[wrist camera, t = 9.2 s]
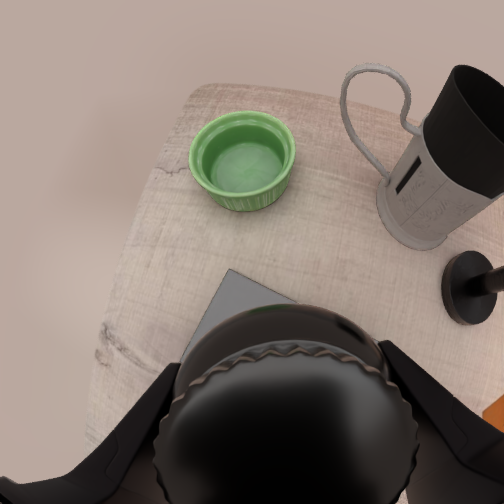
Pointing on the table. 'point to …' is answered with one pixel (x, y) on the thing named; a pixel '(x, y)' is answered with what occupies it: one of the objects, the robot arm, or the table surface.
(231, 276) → the slate tile
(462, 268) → the desk lamp
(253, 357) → the supplement bottle
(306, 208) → the table surface
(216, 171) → the ramekin
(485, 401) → the table surface
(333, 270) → the table surface
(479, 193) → the glass holder
